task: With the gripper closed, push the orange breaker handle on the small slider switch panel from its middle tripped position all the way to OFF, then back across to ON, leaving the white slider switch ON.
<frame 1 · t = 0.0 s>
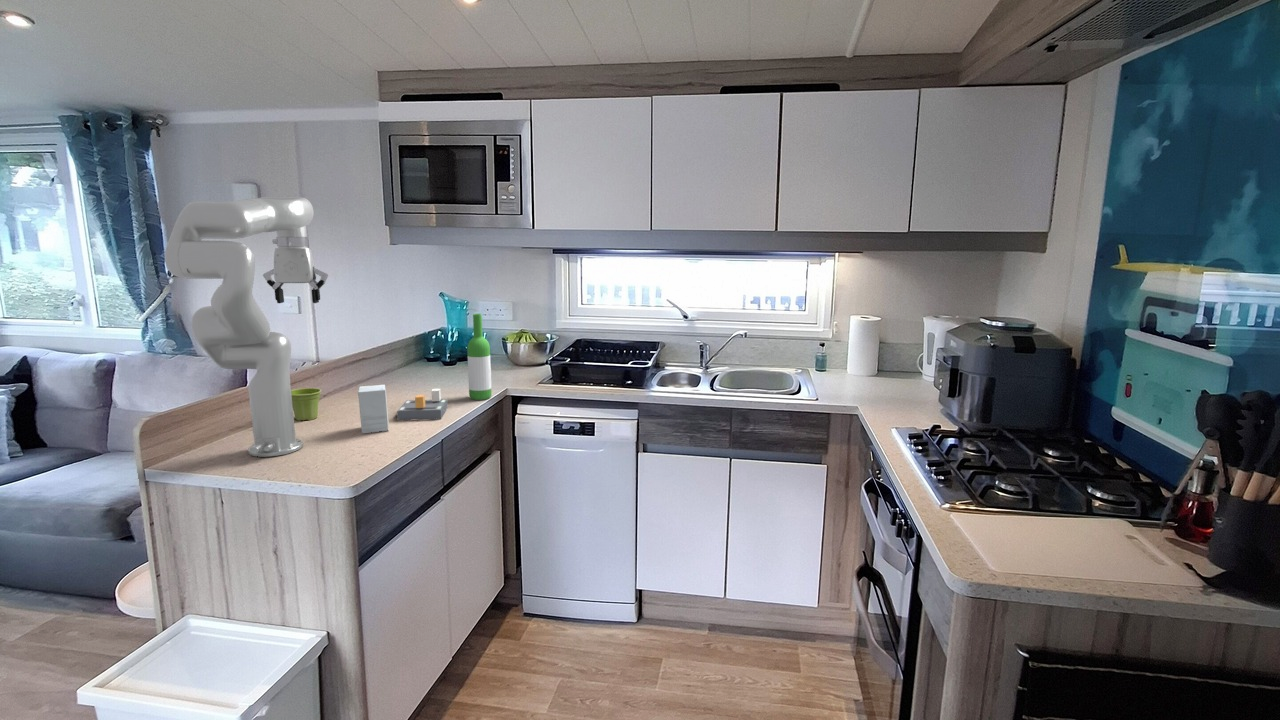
hand: (298, 302, 182), 37 cm above the worktop, tool pointing down, fingers open, 9 cm apart
white slider switch: (436, 394, 204), point 5 cm above the worktop, slide at 3.5 cm
wine bottle: (480, 398, 221), on the worktop
slider switch panel: (423, 414, 200), on the worktop
tripped breaker: (420, 401, 195), point 5 cm above the worktop, slide at 0.0 cm
supplement box: (375, 429, 184), on the worktop
plant pot: (306, 418, 194), on the worktop
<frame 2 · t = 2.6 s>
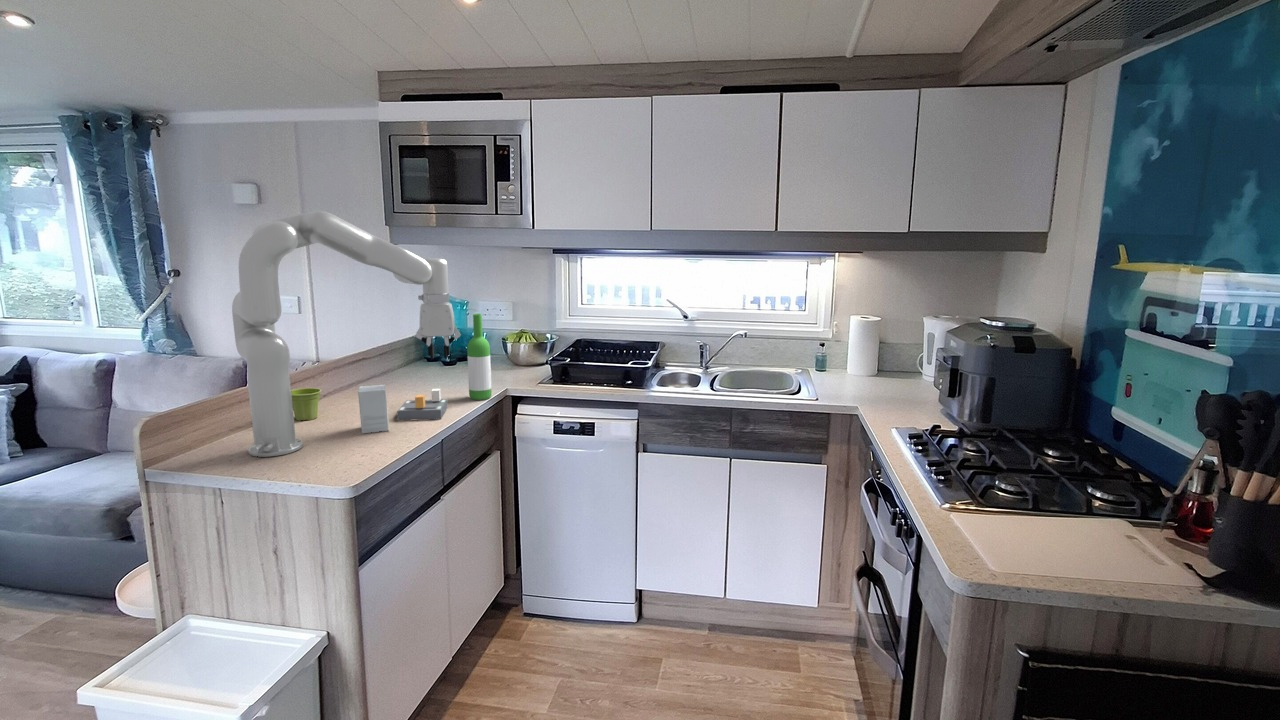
hand: (439, 357, 194), 19 cm above the worktop, tool pointing down, fingers open, 3 cm apart
nothing on the worktop moved.
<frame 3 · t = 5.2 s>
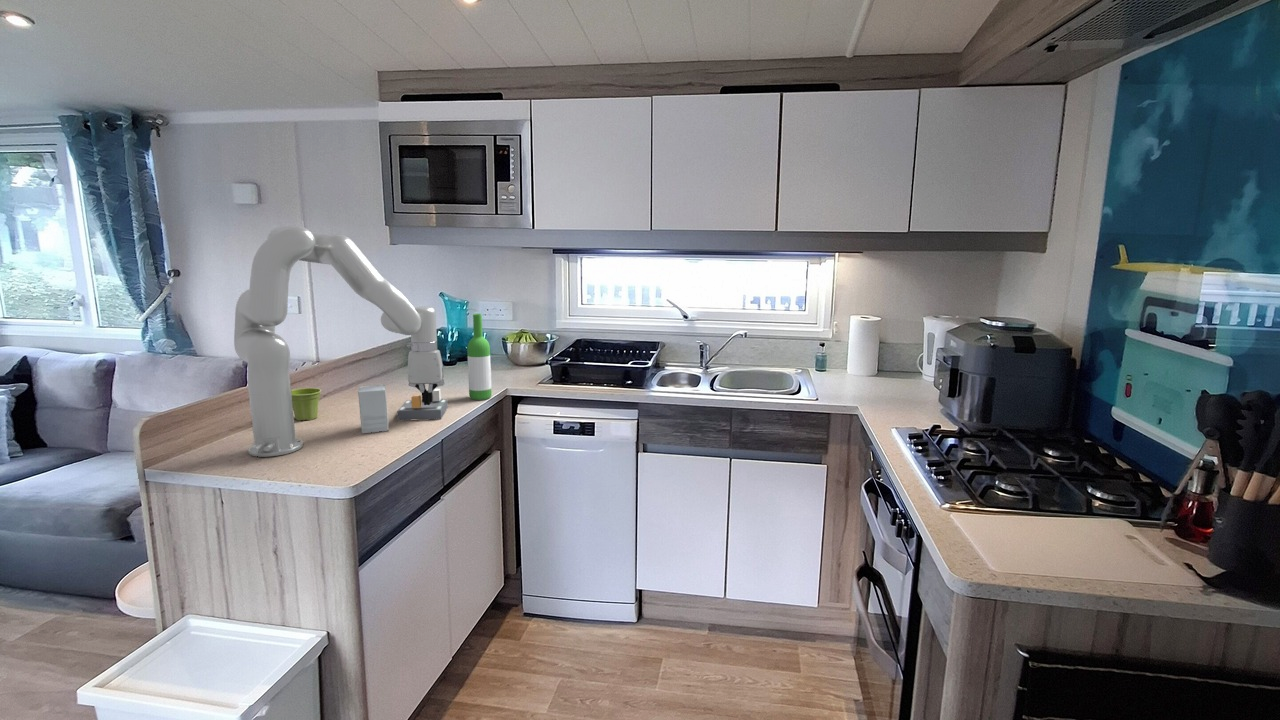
hand: (427, 404, 196), 4 cm above the worktop, tool pointing down, fingers closed
tripped breaker: (416, 401, 195), point 5 cm above the worktop, slide at -1.1 cm, touching gripper
everything else where it was.
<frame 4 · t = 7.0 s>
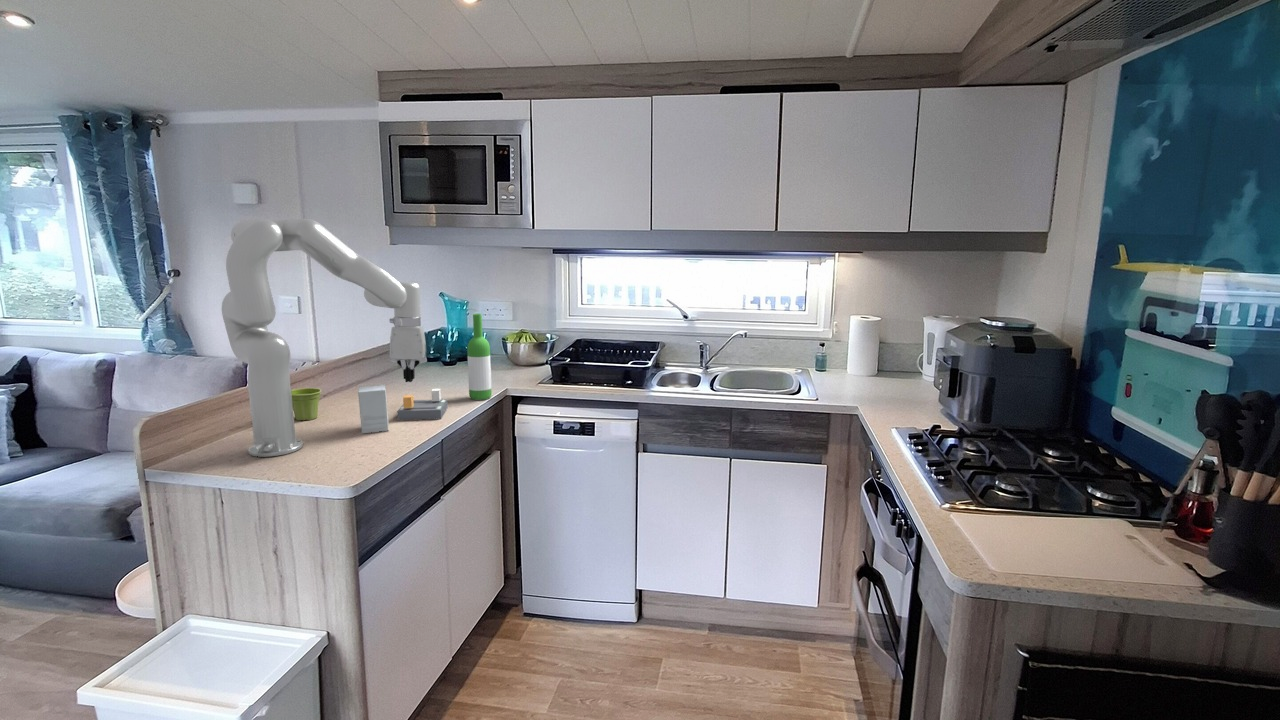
hand: (409, 381, 193), 12 cm above the worktop, tool pointing down, fingers closed
tripped breaker: (408, 401, 195), point 5 cm above the worktop, slide at -3.5 cm
everything else where it was.
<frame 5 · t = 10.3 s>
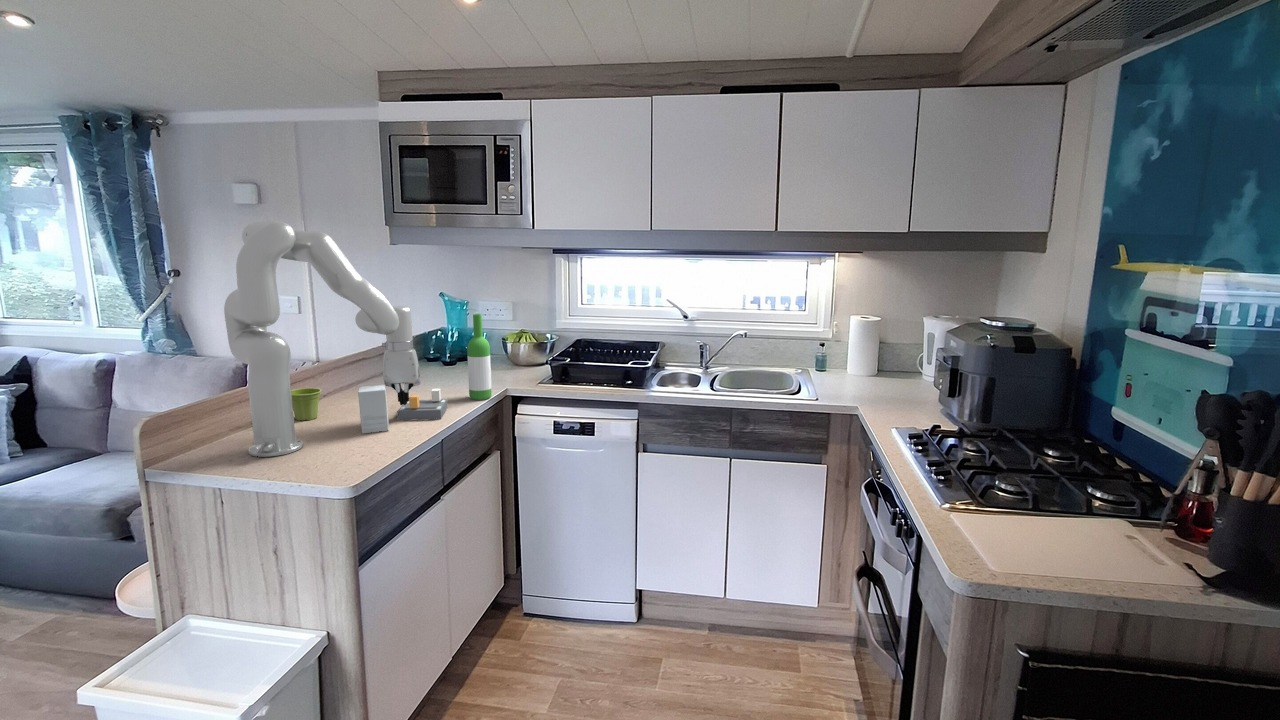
hand: (403, 403, 195), 5 cm above the worktop, tool pointing down, fingers closed
tripped breaker: (414, 401, 195), point 5 cm above the worktop, slide at -1.8 cm, touching gripper
everything else where it was.
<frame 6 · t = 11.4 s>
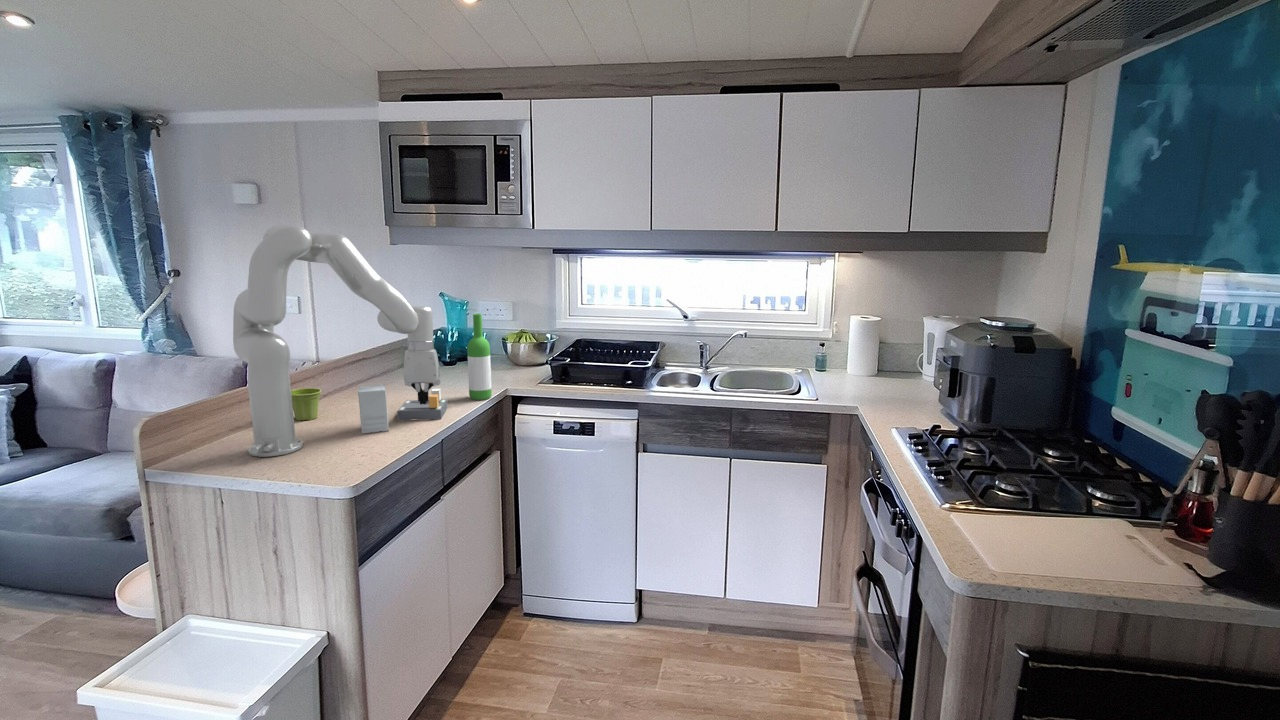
hand: (423, 403, 196), 5 cm above the worktop, tool pointing down, fingers closed
tripped breaker: (433, 401, 196), point 5 cm above the worktop, slide at 4.1 cm, touching gripper
everything else where it was.
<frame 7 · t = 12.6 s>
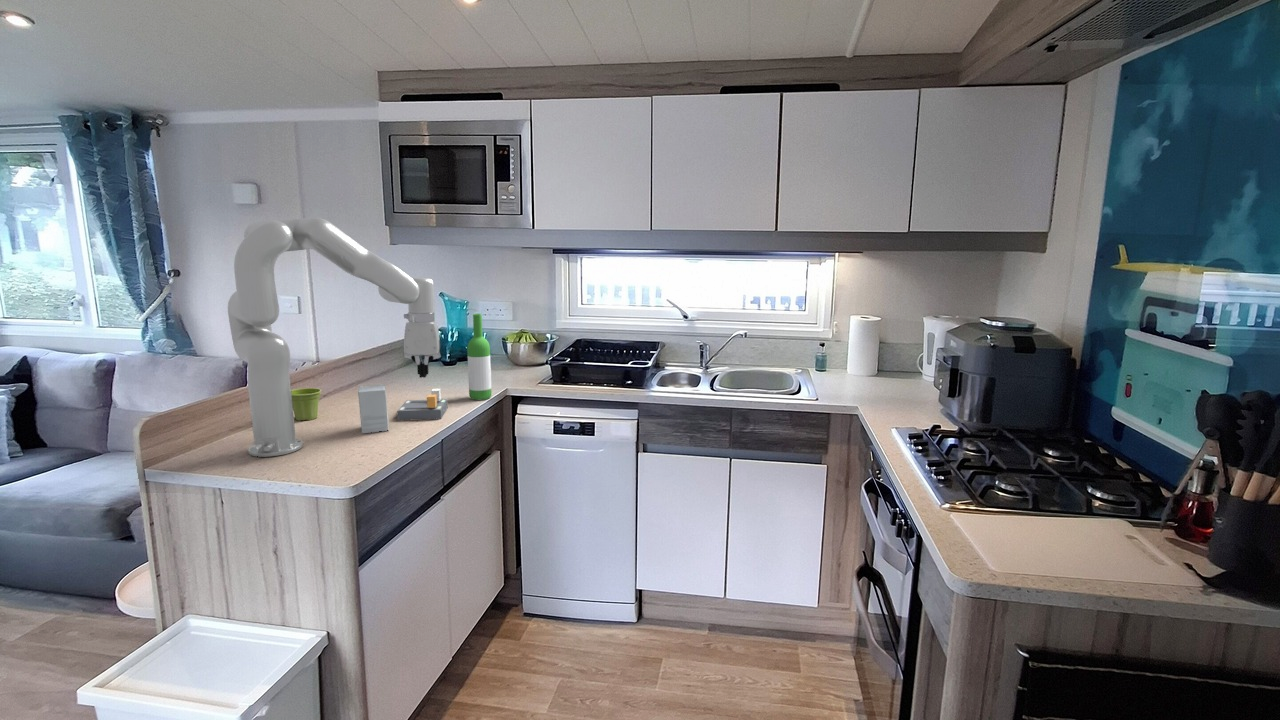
hand: (423, 376, 193), 13 cm above the worktop, tool pointing down, fingers closed
tripped breaker: (431, 401, 196), point 5 cm above the worktop, slide at 3.5 cm
everything else where it was.
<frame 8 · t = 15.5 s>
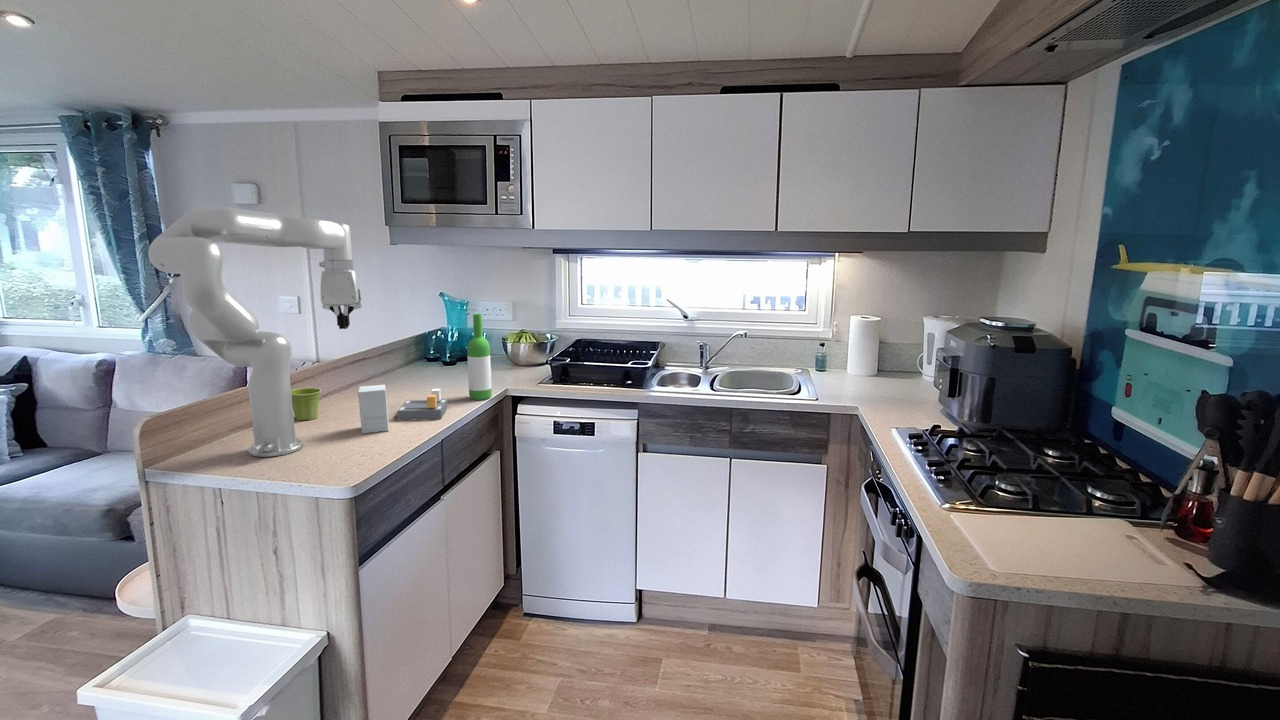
hand: (343, 328, 185), 29 cm above the worktop, tool pointing down, fingers closed
nothing on the worktop moved.
at the end: tripped breaker slide at 3.5 cm; white slider switch slide at 3.5 cm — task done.
